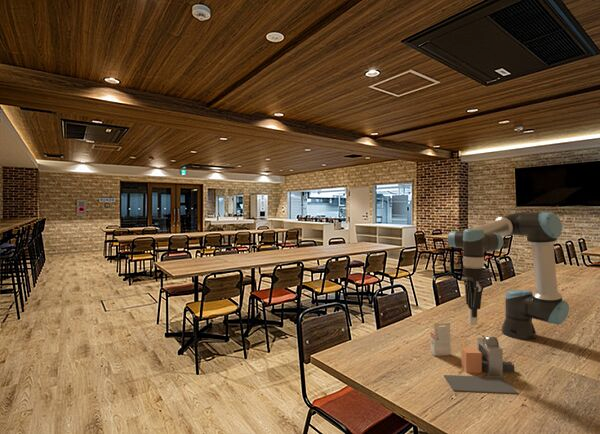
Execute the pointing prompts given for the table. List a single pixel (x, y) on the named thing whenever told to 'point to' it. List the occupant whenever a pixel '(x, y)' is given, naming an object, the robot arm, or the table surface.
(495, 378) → the mat
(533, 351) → the table surface
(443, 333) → the ink box
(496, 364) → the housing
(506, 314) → the robot arm
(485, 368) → the plug
